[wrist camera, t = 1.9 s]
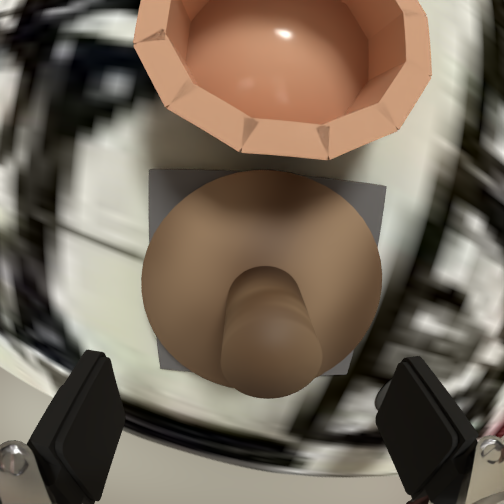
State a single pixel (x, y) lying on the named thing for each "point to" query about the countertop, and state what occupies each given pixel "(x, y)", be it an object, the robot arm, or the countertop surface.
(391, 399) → the robot arm
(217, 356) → the lid
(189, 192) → the mat
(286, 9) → the bowl
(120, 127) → the countertop surface
